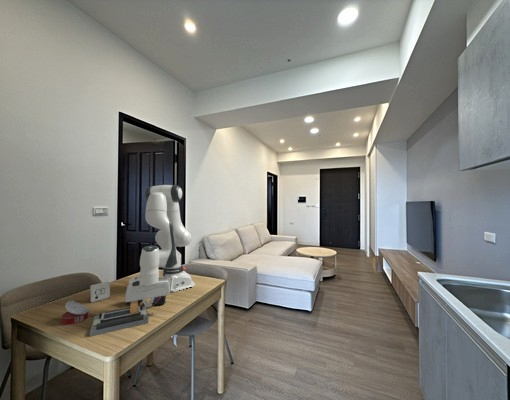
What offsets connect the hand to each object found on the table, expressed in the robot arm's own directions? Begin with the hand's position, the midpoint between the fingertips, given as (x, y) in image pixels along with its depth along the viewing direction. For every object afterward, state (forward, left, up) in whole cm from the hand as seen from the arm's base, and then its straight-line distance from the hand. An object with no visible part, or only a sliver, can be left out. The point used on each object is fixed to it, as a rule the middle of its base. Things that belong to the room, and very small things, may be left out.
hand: (147, 306), depth 106 cm
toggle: (+6, 0, -3) cm, 7 cm away
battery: (+5, -19, -5) cm, 20 cm away
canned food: (+30, -13, -5) cm, 33 cm away
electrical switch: (+23, -34, -5) cm, 41 cm away
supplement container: (-7, -12, -5) cm, 15 cm away
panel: (+11, 0, -5) cm, 12 cm away
